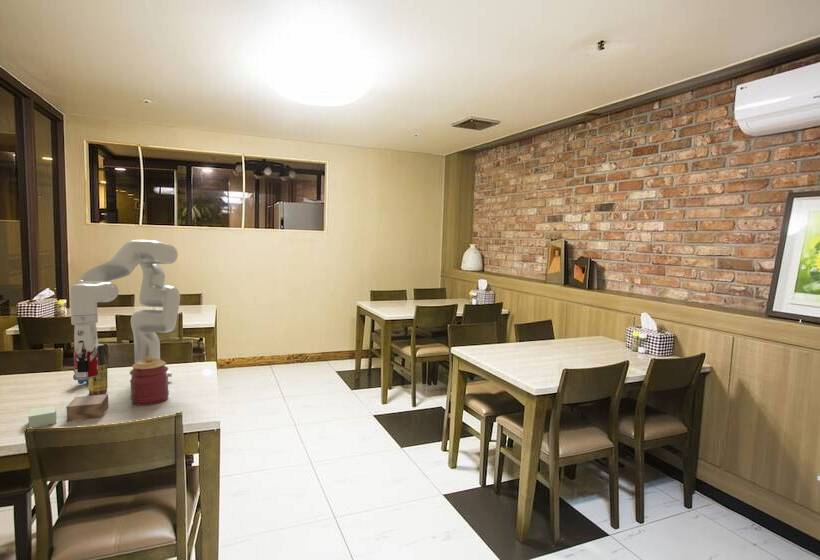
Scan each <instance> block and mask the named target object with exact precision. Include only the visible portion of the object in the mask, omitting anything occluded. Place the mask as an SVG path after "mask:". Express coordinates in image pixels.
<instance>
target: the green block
mask: <svg viewBox="0 0 820 560" xmlns="http://www.w3.org/2000/svg"><path fill="white" fill-rule="evenodd" d="M27 417H28V428H29V429H31V428H30V427H34V428H39V427H40V428H41V427H44V426H43V425H45V426H49V425H48V424H51V425H57V406H56V405H53V406H47V407H46V406H45V407H40V408H33V409H29V411H28V416H27Z"/></svg>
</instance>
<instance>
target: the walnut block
mask: <svg viewBox="0 0 820 560" xmlns="http://www.w3.org/2000/svg"><path fill="white" fill-rule="evenodd" d="M108 409H109V394H108V393H104V394H101V395H82V396H75V397H74V398H73V399H72V400H71V401H70V402H69V403H68V404H67V406H66V421H67V422H69V421H79V420H80V421H81V420H89V419H100V418H103V416H104V414H105V413H106V412H107V410H108Z"/></svg>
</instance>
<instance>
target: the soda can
mask: <svg viewBox="0 0 820 560" xmlns="http://www.w3.org/2000/svg"><path fill="white" fill-rule="evenodd" d="M77 350H78V349H77ZM83 352H86V350H83ZM84 355H85V354H84ZM77 356H78V355H77V353H76V352H75V348H74V349H73V361H74V362H73V370H74V371H73V373H74V374H75V378H77V379H79V380H86V379H91V378H94V377H95V376H97V375H98V357H97V347H96V346H95V348H94V351H92V352H88V360H89V371H88V372H80V373H78V369H77Z"/></svg>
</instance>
